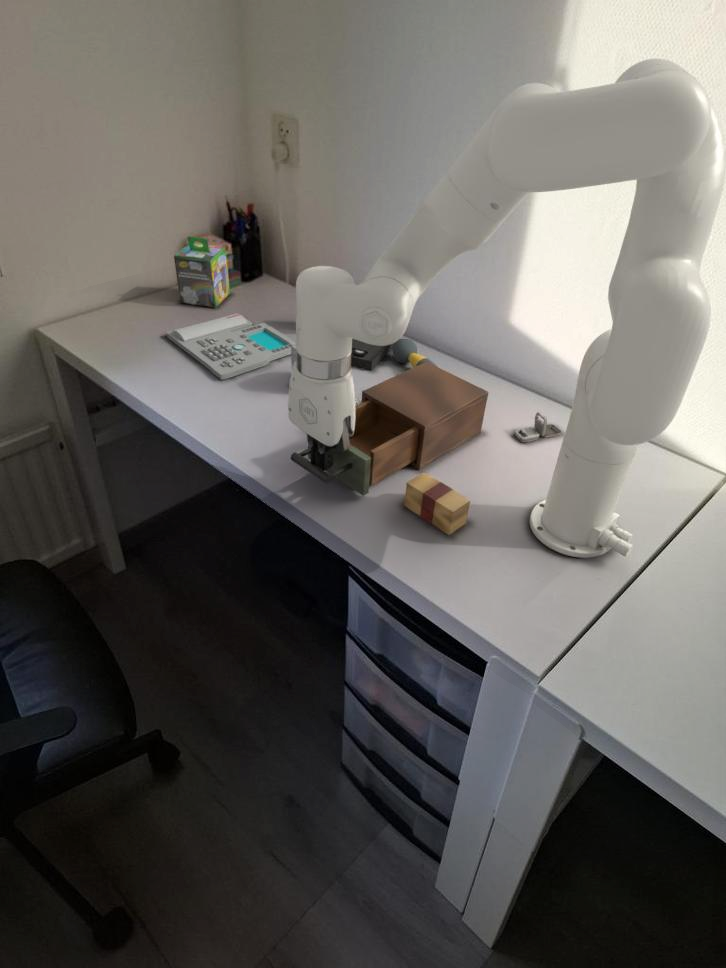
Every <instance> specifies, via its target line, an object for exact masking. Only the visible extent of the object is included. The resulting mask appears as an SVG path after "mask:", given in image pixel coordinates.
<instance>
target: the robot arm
mask: <svg viewBox="0 0 726 968" xmlns="http://www.w3.org/2000/svg"><path fill="white" fill-rule="evenodd" d="M725 177H726V143H725V136H724V131H723V128H722V124H721V121H720V118H719V115H718V113H717V110H716V108H715V106H714V104H713V102H712V100H711V98H710V97H709V95H708V91H707V90H706V88H705V87H704V85H702V83H701V81H700V80H699V79H697V77H695V76H694V75H692V74H691V73H689V72H688V71H687V70H686V69H685V68H683V67H682V66H680V65H679V64H677V63H676V62H675V61H671V60H668V59H665V58H648V59H644V60H641V61H639V62H637V63H635V64H633V65H631V66H630V67H628V68H627V69H626V70H624V71H623V72H622V73H621V74H620V76H619V77H617V79H616V81H615V82H612V83H609V84H604V85H599V86H592V87H585V88H579V89H573V90H567V91H566V90H565V91H559V90H557V89H556V88H554V87H553V86H550V85H548V84H545V83H541V82H530V83H529V82H528V83H525V84H523V85H521V86H518V87H516V88H515V89H513V90H512V91H510V93H508V95H507V96H505V97H504V98H503V100H502V101H500V103H499V104H498V106H496V108H495V109H494V111H493V112H492V113H491V114H490V115H489V117H488V118H487V119H486V121H485V122H484V123H483V124H482V126H480V128H479V130H477V132H476V133H475V135H474V136H473V137H472V138H471V139H470V141H469V142H468V143H467V144H466V146H465V147H464V148H463V150H462V151H461V152H460V154H459V155H458V156H457V158H456V159H455V160H454V161H453V162H452V163H451V165H450V167H448V169H447V170H446V172H444V174H443V175H442V176H441V178H440V179H439V180H438V181H437V183H436V184H435V185H433V188H432V189H430V191H429V193H428V194H427V195H426V197H425V198H423V200H422V202H421V203H420V205H419V207H418V208H417V210H416V211H415V213H414V214H413V215H412V216H411V218H409V220H408V221H407V222H406V224H405V225H404V226H403V228H402V229H401V230H400V231H399V233H398V234H396V236H395V237H394V238H393V240H392V241H391V242H390V244H388V246H387V248H385V250H384V252H382V254H381V255H380V256H379V257H378V259H377V260H376V261H375V262H374V263H373V265H372V267H371V268H370V269H369V271H368V272H367V274H366V275H365V277H364V279H363V281H362V282H361V283H359V284H355V281H354V278H353V277H352V274H350V273H349V272H348V271H347V270H345V269H343V268H340V267H336V266H330V265H317V266H312V267H308V268H305V269H304V270H302V271H301V272H300V273H299V275H298V276H297V278H296V281H295V342H296V361H295V362H294V364H293V368H292V367H291V372H290V377H289V387H288V401H287V412H288V413H287V414H288V419H289V421H290V422H291V424H293V425H294V426H295V427H297V428H298V429H300V430H301V431H302V432H304V433H305V434H306V439H307V446H308V445H309V446H310V447H312V448H311V460H310V462H311V463H313V464H314V465H316V466H317V467H319V468H320V469H322V470H323V471H325V472H326V470H327V469H329V468H330V467H332V466H333V448H335V449H336V450H339V451H342V452H344V451H346V450H348V449H350V441H349V437H351V436H353V434H354V429H355V406H356V394H355V393H356V392H355V383H354V377H353V374H351V373H352V365H351V356H352V339H356V340H358V341H361V342H364V343H367V344H371V345H376V346H386V345H390V344H393V343H395V342H396V341H398V340H399V339H402V337H403V336H404V335H405V333H406V331H407V328H408V326H409V323H410V320H411V318H412V314H413V311H414V309H415V305H416V303H417V301H418V300H419V298H420V297H421V296H422V294H423V293H424V292H426V289H428V287H429V286H430V285H431V284H432V283H433V282H434V281H435V279H436V278H437V277H438V276H439V275H440V273H441V272H442V271H443V270H444V269H445V268H446V267H447V266H448V265H449V264H450V263H451V262H452V261H453V260H455V259H456V258H457V257H459V256H460V255H462V254H464V253H466V252H470V251H474V250H477V249H478V248H480V247H482V246H483V245H484V244H485V243H487V242H488V240H489V239H490V238H491V237H492V236H493V235H494V233H495V232H496V231H497V230H498V229H499V228H500V226H501V225H502V224H503V223H504V221H505V220H506V219H507V218H508V217H509V216H510V215H511V214H512V213H513V211H514V210H516V208H517V207H518V206H519V205H520V204H521V203H522V201H523V200H524V199H525V198H526V197H527V196H528V195H529V194H530V193H547V192H557V191H565V190H574V189H582V188H590V187H596V186H597V187H598V186H603V185H609V184H610V185H611V184H617V183H624V182H631V181H636V184H635V192H634V196H633V197H634V198H633V202H632V206H631V210H630V215H629V219H628V223H627V227H626V231H625V234H624V237H623V240H622V244H621V247H620V251H619V254H618V257H617V261H616V264H615V266H614V270H613V271H612V275H611V278H610V281H609V285H608V291H607V300H608V307H609V311H610V316H611V320H612V325H611V328H610V329H608V330H605V331H604V332H602V333H600V334H599V335H597V337H596V338H595V339H594V340H593V341H592V342H591V343H590V344H589V345H588V348H587V349H586V351H585V352H584V355H583V358H582V360H581V364H580V367H579V372H578V377H577V381H576V387H575V393H574V397H573V401H572V407H571V411H570V414H569V418H568V421H567V425H566V428H565V433H564V435H563V438H562V441H561V444H560V445H561V446H560V449H559V452H558V456H557V460H556V463H555V467H554V470H553V474H552V477H551V480H550V485H549V487H548V491H547V494H546V498H545V499H543V500H541V501H540V502H538V503H536V505H534V507H533V508H532V510H531V513H530V516H529V526H530V529H531V531H532V533H533V534H534V536H535V537H536V538H537V539H538V540H539V541H540V542H541V544H543V545H544V546H546V547H548V548H549V549H551V550H553V551H555V552H558V553H559V554H562V555H564V556H568V557H569V556H570V557H574V558H582V559H583V558H585V559H586V558H595V557H600V556H602V555H604V554H606V553H608V552H609V551H610V550H611V549H612V550H614V552H616V553H618V554H620V555H621V556H623V557H625V558H627V557H628V556H629V555H631V553H632V551H633V548H634V545H633V544H632V543H630V542H631V541H632V539H633V537H634V534H632V533H631V532H629V531H627V530H624V529H622V528H620V526H619V524H618V523H617V522H618V521H619V518H620V514H619V513H617V512H615V510H616V507H617V504H618V501H619V498H620V496H621V494H622V491H623V488H624V486H625V483H626V480H627V478H628V475H629V473H630V469H631V467H632V464H633V463H634V462H633V461H634V459H635V457H636V455H637V452H638V449H639V446H640V445H642V444H645V443H647V442H651V440H653V439H655V438H657V437H659V435H661V434H662V433H663V432H664V431H665V430H666V429H667V428H668V427H669V426H670V425H671V423H672V422H673V420H674V418H675V417H676V415H677V413H678V411H679V409H680V406H681V404H682V402H683V400H684V397H685V394H686V392H687V390H688V387H689V384H690V383H691V380H692V377H693V374H694V372H695V370H696V367H697V364H698V362H699V359H700V356H701V353H702V351H703V349H704V345H705V344H706V340H707V337H708V334H709V328H710V324H711V317H712V316H711V314H712V309H711V301H710V297H709V293H708V291H707V289H706V287H705V285H704V283H703V281H702V278H701V274H700V270H701V265H702V260H703V258H704V253H705V251H706V247H707V244H708V241H709V238H710V235H711V232H712V228H713V225H714V220H715V218H716V215H717V213H718V209H719V205H720V202H721V198H722V193H723V189H724V184H725Z"/></svg>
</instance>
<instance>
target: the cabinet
mask: <svg viewBox="0 0 726 968" xmlns="http://www.w3.org/2000/svg"><path fill="white" fill-rule="evenodd" d="M488 397H489V391H487V390H486V389H484V388H481V387H480V386H478V385H475V384H474V383H472V382H469V381H467V380H466V379H463V378H461V377H459V376H458V375H455V374H453V373H451V372H449V371H447V370H444V369H442V368H441V367H439V366H438V367H436V366H434V365H432V364H430V363H428V362H425V363H423V364H420V365H418V366H416V367H414V368H413V367H412V368H410V369H408V370H405V371H403V372H401V373H399V374H396V375H395V376H392V377H390V378H388V379H386V380H384V381H382V382H379V383H377V384H374V385H373V386H371V387H368V388H366V389H365V390H362V391H361V403H362V402H364V401H367V400H371V401H373V402H375V403H376V404H378V405H380V406H382V407H383V408H385V409H387V410H389V411H390V412H392V413H394V414H396V415H398V416H399V417H401V418H403V419H405V420H406V421H408V422H410V423H412V424H414V425H415V426H417V427H419V428H421V433H420V441H419V449H418V457H417V460H415V461H413V462H411V463H410V464H409V465H411V466H412V467H414V469H415V468H416V469H417V470H419V471H421V470H422V469H424V468H426V467H428V466H430V465H431V464H432V463H434V462H435V461H437V460H439V459H441V458H442V457H444V456H445V455H448V454H449V453H451V452H452V451H454V450H456V449H458V448H459V447H461V446H462V445H464V444H465V443H468V442H469V441H471V440H473V439H474V438H476V437H478V436H479V435H481V434H482V433H481V432H482V429H483V423H484V417H485V412H486V407H487V402H488Z"/></svg>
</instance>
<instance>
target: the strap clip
mask: <svg viewBox="0 0 726 968" xmlns="http://www.w3.org/2000/svg"><path fill="white" fill-rule="evenodd" d="M540 418H541V419H540ZM561 433H562V430H560V429H559V428H558V427H556V425H555V424H548V419H547V415H545V414H544V413H543V412H540V411H538V412H536V413H535V415H534V425H533V427H531V426H528V427H523V428H519V429H517V430H515V431H514V435H515V437H516V438H517V439H519V441H521V442H523V443H530V442H534V441H536V440H539V438H540V436H541V437H543V438H551V437H557V436H559V435H560V434H561Z"/></svg>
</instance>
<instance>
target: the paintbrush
mask: <svg viewBox="0 0 726 968" xmlns="http://www.w3.org/2000/svg"><path fill="white" fill-rule="evenodd" d="M391 351H392V356H393V358H394V360H396V361H397V362H398V363H400V364H410V365H411V367H412V368H414V367H416V366H418V365H420V364H423V363H425V362H428V363H430V364H432V365H434V366H436V367H439V366H438V365H437V364H436V363H434V361H432V360H431V359H430V358H428V357H426V356H425V355H424V356H423V355H421V354H418V347H417V344H416V343H415V341H414V340H412V339H410V338H409V339H408V338H400V339H399V340H398V341H396V342H395V343H393V345H392V350H391Z"/></svg>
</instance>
